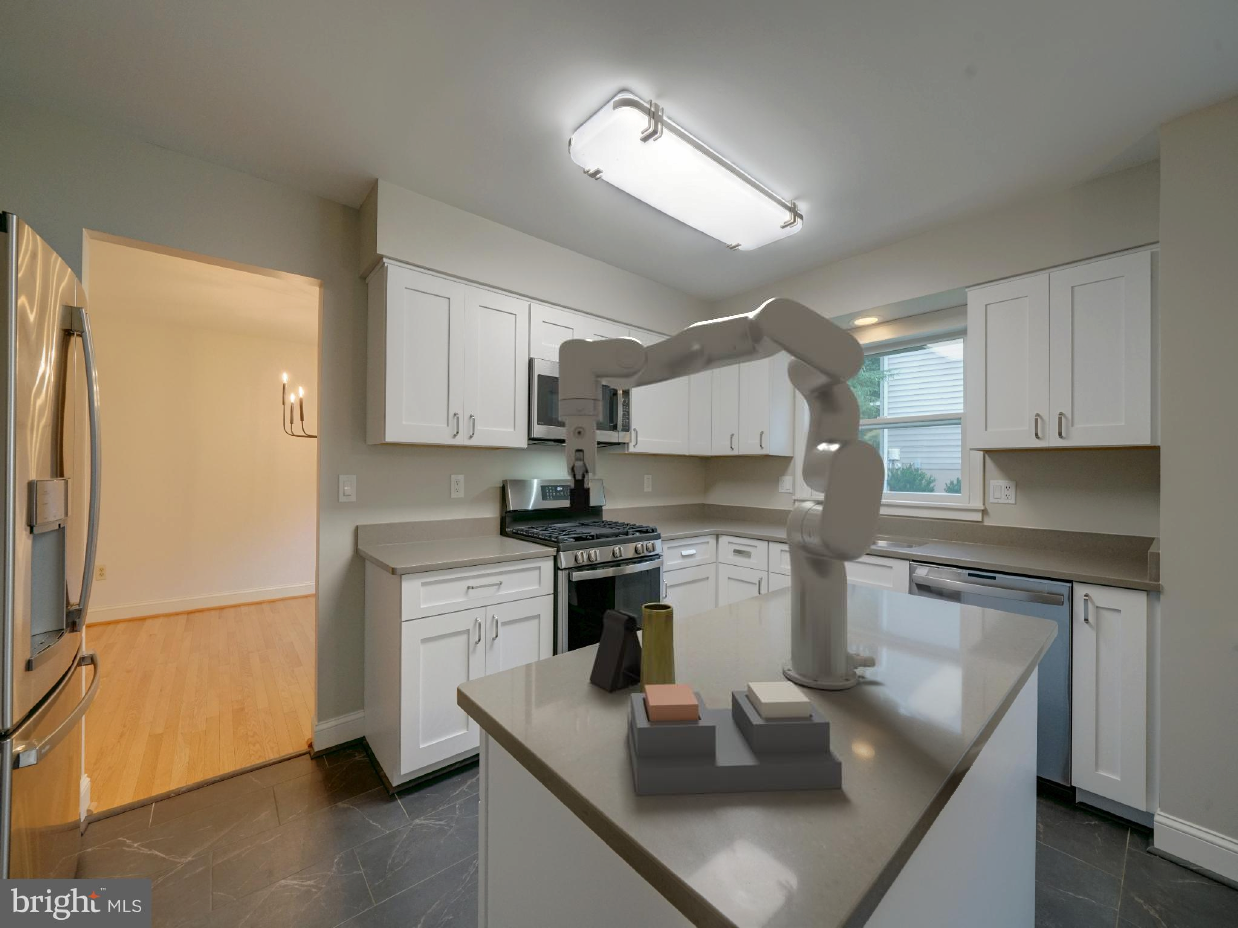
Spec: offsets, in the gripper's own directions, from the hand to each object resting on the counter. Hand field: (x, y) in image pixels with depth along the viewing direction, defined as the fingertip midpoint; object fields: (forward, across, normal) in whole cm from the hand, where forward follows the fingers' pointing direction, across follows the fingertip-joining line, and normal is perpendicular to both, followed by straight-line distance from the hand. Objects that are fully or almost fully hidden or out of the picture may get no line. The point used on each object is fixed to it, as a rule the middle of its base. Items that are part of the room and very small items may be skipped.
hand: (580, 511), depth 88 cm
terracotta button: (+25, -23, -12) cm, 36 cm away
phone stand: (+30, +2, -7) cm, 31 cm away
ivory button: (+25, -23, -26) cm, 43 cm away
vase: (+30, -3, -13) cm, 33 cm away
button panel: (+30, -23, -19) cm, 42 cm away
